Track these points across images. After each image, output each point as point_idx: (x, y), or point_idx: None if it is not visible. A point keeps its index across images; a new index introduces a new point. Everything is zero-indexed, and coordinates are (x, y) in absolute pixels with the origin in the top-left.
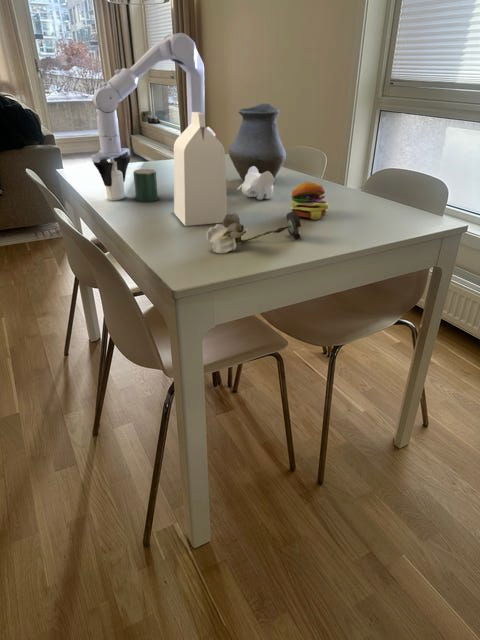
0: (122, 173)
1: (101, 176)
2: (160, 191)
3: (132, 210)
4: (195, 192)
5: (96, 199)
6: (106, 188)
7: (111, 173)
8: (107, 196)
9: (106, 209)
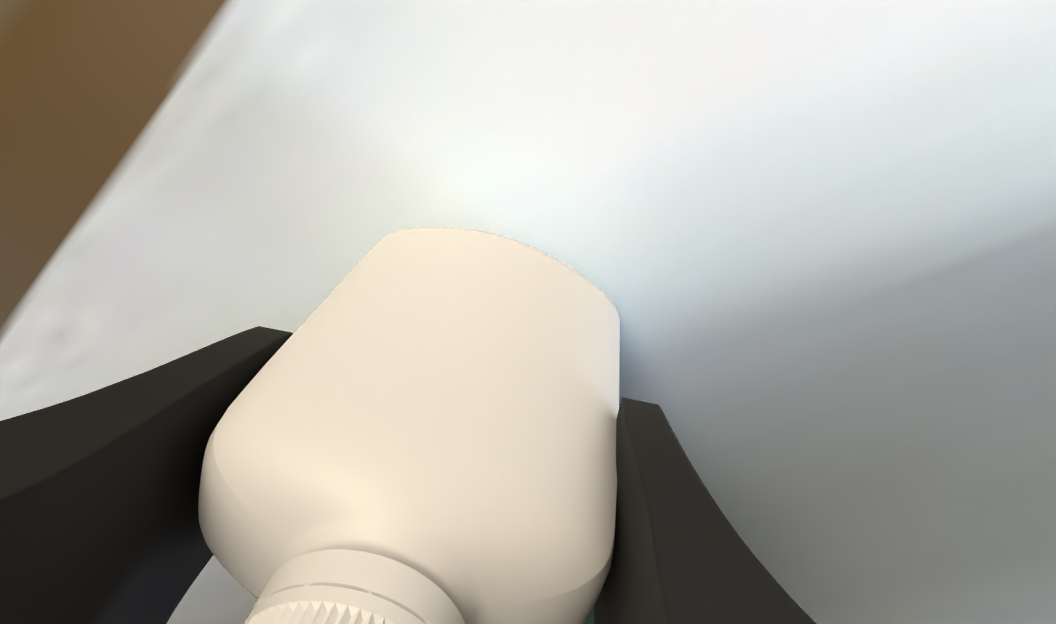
0: (602, 611)
1: (117, 392)
2: (1013, 606)
3: (213, 582)
4: None
5: (369, 43)
6: (327, 299)
7: (243, 584)
8: (372, 249)
9: (99, 381)
